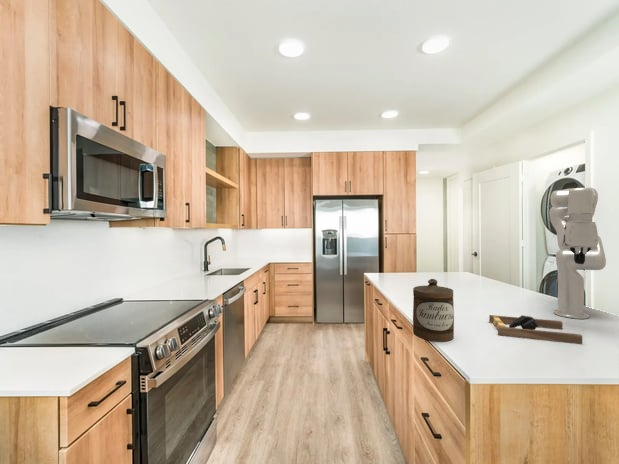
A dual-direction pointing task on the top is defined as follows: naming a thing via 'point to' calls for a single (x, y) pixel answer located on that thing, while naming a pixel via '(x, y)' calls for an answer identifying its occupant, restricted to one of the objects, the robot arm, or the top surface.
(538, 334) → the brown wooden u-shaped frame
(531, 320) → the power plug
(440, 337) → the wooden container
